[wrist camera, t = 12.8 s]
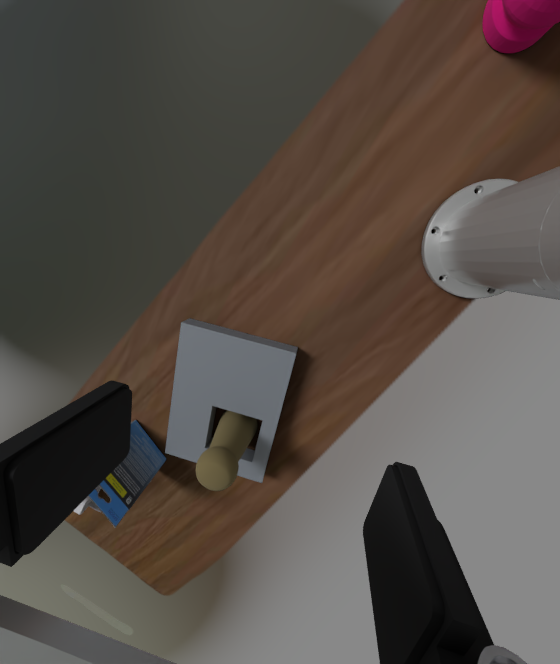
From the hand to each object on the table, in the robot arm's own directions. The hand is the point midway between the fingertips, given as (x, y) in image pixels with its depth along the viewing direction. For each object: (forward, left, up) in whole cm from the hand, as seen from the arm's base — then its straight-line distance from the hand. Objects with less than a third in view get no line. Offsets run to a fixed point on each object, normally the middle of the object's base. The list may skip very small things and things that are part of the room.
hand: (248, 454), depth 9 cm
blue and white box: (+20, +29, -28) cm, 45 cm away
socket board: (+7, +16, -28) cm, 33 cm away
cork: (+5, +20, -28) cm, 35 cm away
